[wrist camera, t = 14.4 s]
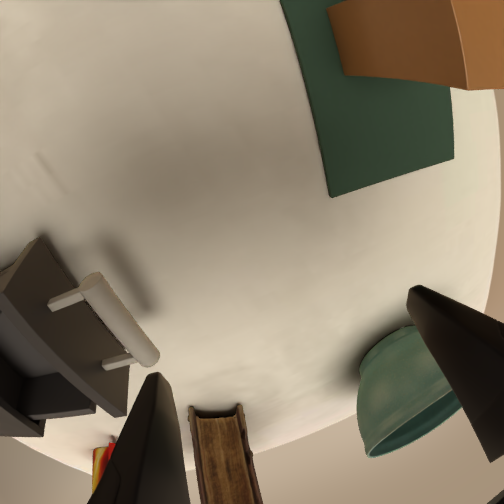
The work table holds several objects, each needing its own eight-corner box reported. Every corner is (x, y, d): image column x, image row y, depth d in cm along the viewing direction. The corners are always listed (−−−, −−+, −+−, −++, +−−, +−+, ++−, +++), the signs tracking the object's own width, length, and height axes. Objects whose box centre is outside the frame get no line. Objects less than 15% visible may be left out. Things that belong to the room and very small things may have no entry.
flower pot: (435, 351, 36) (472, 403, 27) (342, 404, 37) (370, 466, 28) (447, 277, 27) (507, 344, 18) (319, 349, 28) (362, 442, 19)
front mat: (246, -81, 8) (247, -84, 8) (401, -70, 8) (404, -71, 8) (329, 196, 19) (331, 198, 19) (451, 157, 20) (454, 158, 19)
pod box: (325, 8, 12) (441, -28, 4) (390, 7, 12) (508, -3, 4) (343, 75, 15) (467, 90, 7) (405, 68, 15) (524, 89, 7)
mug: (113, 434, 31) (115, 513, 21) (160, 463, 39) (167, 524, 29) (64, 437, 31) (60, 506, 21) (114, 466, 39) (117, 523, 29)
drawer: (91, 208, 16) (59, 263, 11) (176, 343, 22) (180, 405, 18) (-48, 292, 15) (-75, 338, 10) (31, 380, 22) (20, 426, 17)
